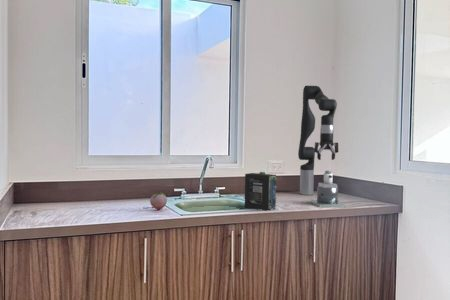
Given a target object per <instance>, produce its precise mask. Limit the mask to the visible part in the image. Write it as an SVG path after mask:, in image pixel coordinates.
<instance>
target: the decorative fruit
mask: <svg viewBox="0 0 450 300" xmlns="http://www.w3.org/2000/svg"><path fill="white" fill-rule="evenodd" d="M149 203H150V205H151V207H152V208H154V209H155V210H158V211H161V210H162V209H163V208H165V207H166V205H167V203H168V198H167V196H166V194H165V193H163V192H160V191H158V192H157V193H154V194H153V195H152V196H151V197H150V200H149Z"/></svg>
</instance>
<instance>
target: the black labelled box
mask: <svg viewBox="0 0 450 300" xmlns="http://www.w3.org/2000/svg"><path fill="white" fill-rule="evenodd" d="M244 174H245V175H244V179H245V180H244V185H243V188H242V189H243V190H244V197H243V198H242V199H244V208H247V209H253V210H259V209H262V210H261V211H266V210H269V211H272V210H271V209H273V210H275V209H276V208H277V205H276V203H277V197H276V193H277V179H278V178H277V175H276V174H272V173H270V174H269V173H266V172H265V171H259V173H258V172H257V173H256V172H249V173H244Z"/></svg>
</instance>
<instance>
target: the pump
mask: <svg viewBox="0 0 450 300" xmlns="http://www.w3.org/2000/svg"><path fill="white" fill-rule="evenodd" d="M333 175H334V174H333V172H332V170H325V171H324V173H323V183H324V184H332V183H333V178H334V177H333Z"/></svg>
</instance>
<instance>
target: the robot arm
mask: <svg viewBox="0 0 450 300" xmlns="http://www.w3.org/2000/svg"><path fill="white" fill-rule="evenodd" d="M309 100H313V101H314V102H315V103H316V104H317V105H318V109H319V110H320V111H322V112H328V113H327V114H324V115H322V116H321V117H320V134H319V137H320V138H319V140H320V141H319V142H317V141H316V142H314V147H313V146H306V143H307V141H308V139H309V138H310V137H311V135H312V133H313V132H314V131H315V128H316V117H315V114H314V112H313V111H312V110H311V107H310V103H309ZM337 107H338V102H337V101H336V99H334V98H329V97H328V96H326V95H325V94H324V92H323V90H322V88H320V86H318V85H305V86H304V87H303V91H302V113H301V124H300V136H299V137H300V138H299V139H300V140H299V144H298V145H299V146H298V151H297V152H298V153H297V154H298V159H299V160H301V161H307V162H306V163H303V164H301V165H300V169H299V171H300V172H299V175H300V176H299V178H300V179H299V195H303V196H312V195H314V182H315V179H314V177H315V176H314V174H315V173H314V172H315V168H314V167H315V159H316V158H317V160H318V161H320V160H322V158H321V157H322V154H321V153H322V152H324V151H325V150H326V151H330V152H331V160H332V161H334V160H335V159H336V154H338V153H339V142H337V141H336V142H334V117H335V113H336V110H337ZM319 146H320V147H319ZM333 146H334V147H333ZM316 155H317V157H316Z"/></svg>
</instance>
